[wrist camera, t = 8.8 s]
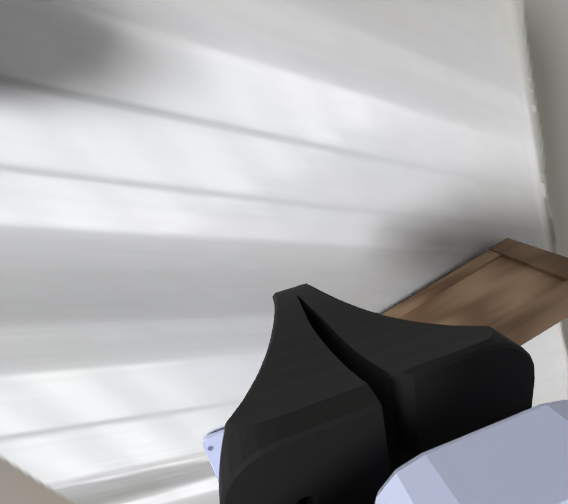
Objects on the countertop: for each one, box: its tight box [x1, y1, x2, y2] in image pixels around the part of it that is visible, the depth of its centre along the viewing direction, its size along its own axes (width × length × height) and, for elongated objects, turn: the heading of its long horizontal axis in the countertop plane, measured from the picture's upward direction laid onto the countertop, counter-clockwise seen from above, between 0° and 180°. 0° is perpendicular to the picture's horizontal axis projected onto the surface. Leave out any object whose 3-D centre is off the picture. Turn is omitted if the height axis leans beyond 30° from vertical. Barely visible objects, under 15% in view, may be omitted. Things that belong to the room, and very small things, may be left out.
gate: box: [381, 238, 568, 346], centre depth 21 cm, size 15×2×7 cm, turn 117°
